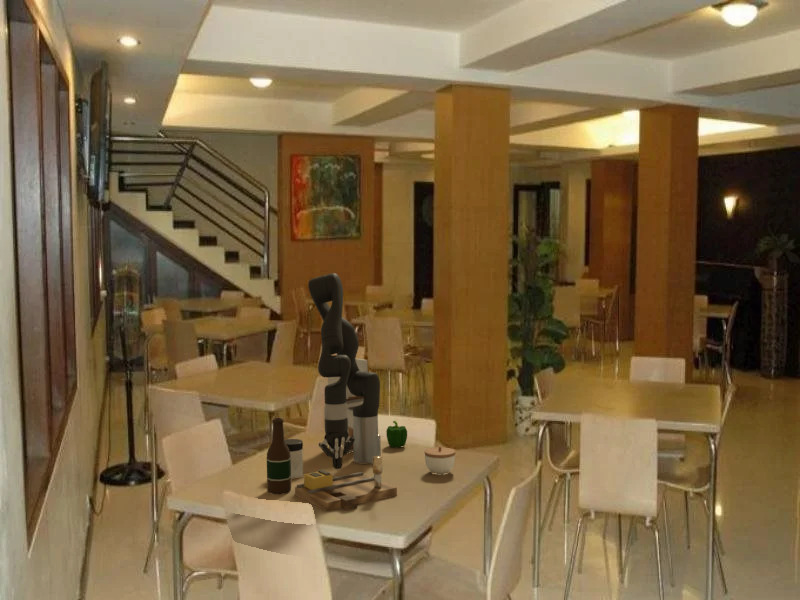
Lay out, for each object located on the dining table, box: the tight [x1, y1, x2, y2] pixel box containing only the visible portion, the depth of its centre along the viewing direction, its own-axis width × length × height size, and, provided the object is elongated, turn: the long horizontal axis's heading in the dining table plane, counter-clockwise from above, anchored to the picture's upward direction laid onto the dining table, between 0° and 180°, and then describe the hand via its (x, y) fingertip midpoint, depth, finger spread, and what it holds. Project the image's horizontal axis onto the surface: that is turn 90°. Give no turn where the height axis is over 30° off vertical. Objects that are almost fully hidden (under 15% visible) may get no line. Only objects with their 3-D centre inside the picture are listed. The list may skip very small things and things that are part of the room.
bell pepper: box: [385, 420, 408, 448], centre depth 335 cm, size 8×8×10 cm
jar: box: [284, 438, 304, 480], centre depth 295 cm, size 9×8×12 cm
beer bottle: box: [266, 417, 292, 495], centre depth 277 cm, size 8×8×24 cm
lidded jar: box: [424, 445, 456, 474], centre depth 297 cm, size 11×11×9 cm
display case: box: [327, 358, 369, 454], centre depth 332 cm, size 11×11×35 cm
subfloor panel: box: [294, 471, 398, 512], centre depth 272 cm, size 26×26×3 cm
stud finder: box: [303, 469, 334, 490], centre depth 273 cm, size 7×6×4 cm
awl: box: [372, 455, 383, 489], centre depth 271 cm, size 3×3×10 cm
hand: (337, 468), depth 276 cm, fingers closed
